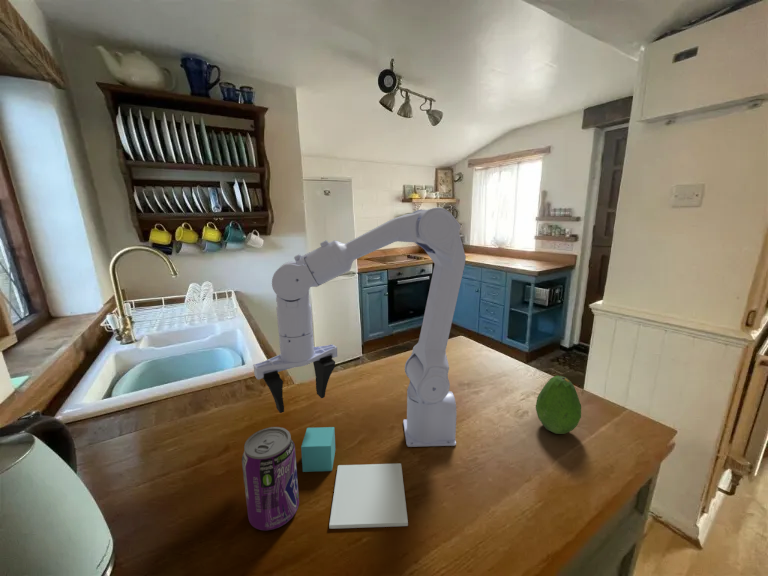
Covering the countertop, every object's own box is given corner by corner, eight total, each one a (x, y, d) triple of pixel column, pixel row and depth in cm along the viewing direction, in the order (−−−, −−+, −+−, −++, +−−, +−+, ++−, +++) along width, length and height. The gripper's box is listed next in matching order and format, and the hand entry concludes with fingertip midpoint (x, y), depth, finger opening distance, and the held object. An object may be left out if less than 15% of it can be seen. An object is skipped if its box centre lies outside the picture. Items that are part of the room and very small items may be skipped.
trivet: (401, 466, 55) (401, 463, 55) (407, 525, 44) (407, 522, 44) (338, 468, 55) (337, 465, 55) (329, 528, 44) (329, 525, 44)
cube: (335, 450, 59) (334, 427, 58) (331, 471, 54) (330, 446, 53) (308, 451, 59) (307, 427, 58) (302, 472, 54) (301, 446, 53)
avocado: (552, 446, 60) (559, 388, 57) (526, 420, 67) (531, 369, 65) (588, 439, 61) (596, 383, 59) (558, 416, 69) (564, 365, 66)
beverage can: (284, 539, 42) (277, 463, 40) (237, 529, 44) (228, 455, 41) (307, 495, 49) (302, 427, 47) (266, 488, 51) (259, 422, 48)
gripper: (324, 318, 62) (327, 381, 64) (246, 334, 53) (254, 406, 56) (341, 327, 56) (344, 396, 59) (257, 347, 48) (265, 426, 51)
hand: (301, 402), depth 57 cm, fingers open, 7 cm apart
